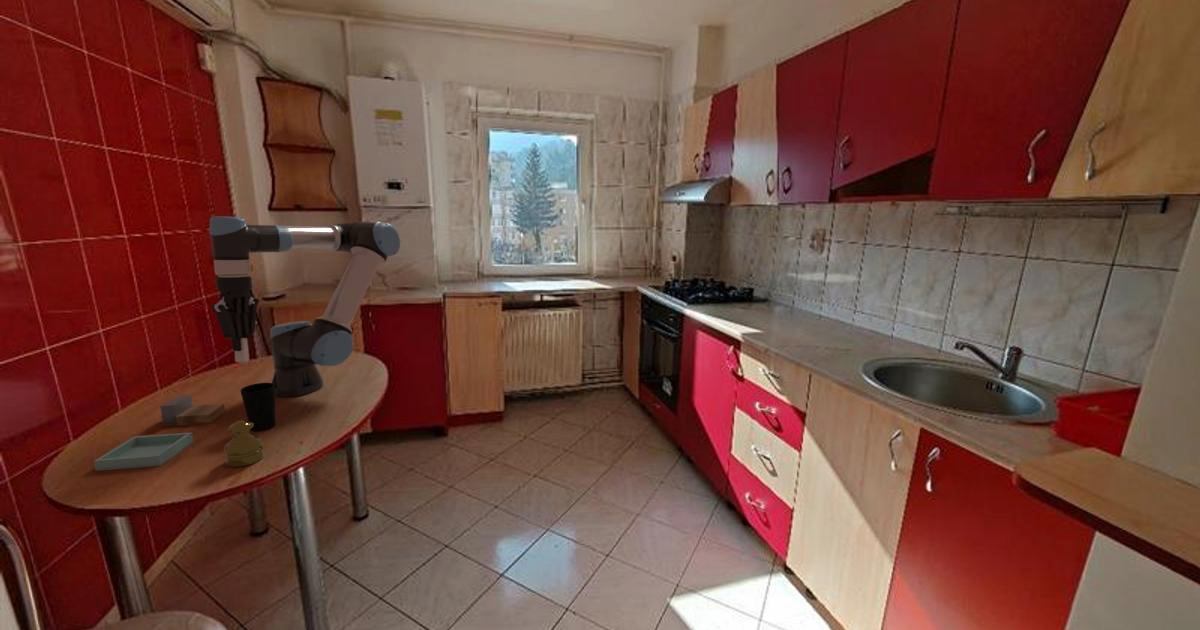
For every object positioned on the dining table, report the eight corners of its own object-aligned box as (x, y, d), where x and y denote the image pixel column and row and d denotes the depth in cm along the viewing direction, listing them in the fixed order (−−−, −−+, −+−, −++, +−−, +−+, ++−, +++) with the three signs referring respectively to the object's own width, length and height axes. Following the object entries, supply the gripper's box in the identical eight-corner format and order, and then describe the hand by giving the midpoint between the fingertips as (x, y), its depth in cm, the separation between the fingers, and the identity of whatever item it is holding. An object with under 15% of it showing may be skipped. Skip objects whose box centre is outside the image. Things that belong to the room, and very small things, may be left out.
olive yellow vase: (222, 470, 108) (216, 430, 106) (230, 456, 114) (224, 418, 112) (261, 463, 111) (256, 424, 109) (266, 450, 118) (261, 413, 116)
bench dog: (193, 414, 138) (190, 394, 137) (176, 425, 130) (173, 405, 129) (182, 414, 137) (178, 395, 136) (163, 426, 129) (160, 406, 128)
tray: (193, 441, 121) (192, 432, 121) (160, 465, 109) (158, 456, 109) (136, 445, 118) (134, 436, 118) (95, 471, 106) (93, 461, 106)
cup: (286, 424, 132) (281, 384, 130) (259, 436, 125) (253, 393, 123) (266, 420, 134) (261, 381, 132) (239, 431, 127) (233, 390, 125)
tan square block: (225, 413, 140) (224, 403, 139) (210, 424, 132) (208, 414, 132) (194, 415, 138) (193, 405, 137) (177, 426, 130) (175, 416, 130)
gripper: (240, 273, 130) (248, 354, 134) (197, 277, 117) (208, 367, 121) (265, 274, 129) (273, 356, 133) (225, 278, 116) (235, 368, 120)
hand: (242, 361), depth 127 cm, fingers closed
